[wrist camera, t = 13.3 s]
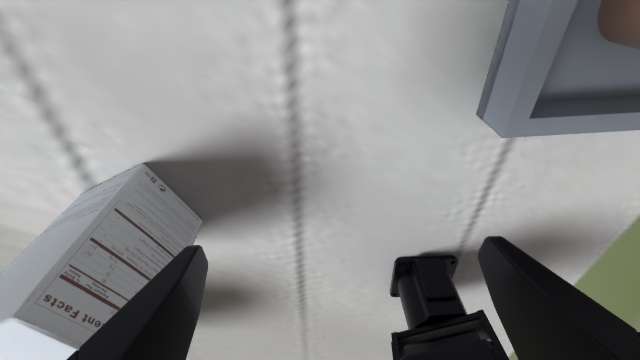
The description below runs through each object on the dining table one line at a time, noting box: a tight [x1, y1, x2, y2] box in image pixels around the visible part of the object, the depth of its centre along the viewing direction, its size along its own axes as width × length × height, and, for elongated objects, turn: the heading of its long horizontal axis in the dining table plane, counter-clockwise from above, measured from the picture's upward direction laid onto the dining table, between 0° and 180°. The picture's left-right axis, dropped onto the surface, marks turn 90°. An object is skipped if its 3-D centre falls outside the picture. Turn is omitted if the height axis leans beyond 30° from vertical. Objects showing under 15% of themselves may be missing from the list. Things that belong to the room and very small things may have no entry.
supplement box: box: [0, 164, 202, 360], centre depth 20 cm, size 7×7×13 cm
